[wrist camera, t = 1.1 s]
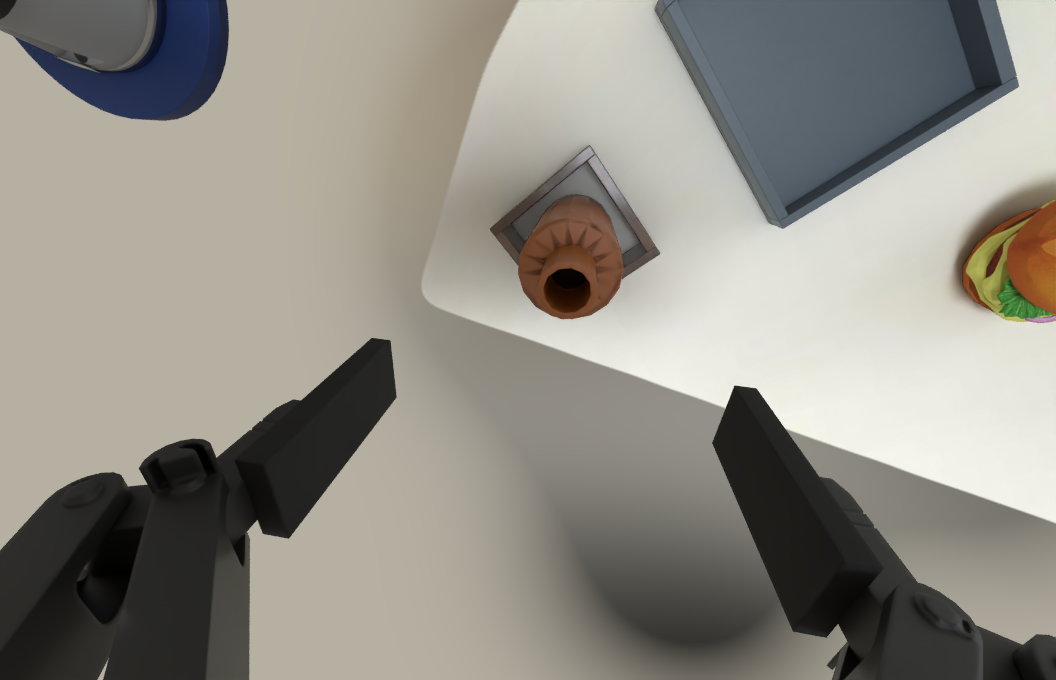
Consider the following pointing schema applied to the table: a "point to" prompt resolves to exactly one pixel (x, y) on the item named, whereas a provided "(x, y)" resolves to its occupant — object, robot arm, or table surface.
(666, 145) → the table surface
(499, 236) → the tray
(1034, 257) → the cheeseburger
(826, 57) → the tray
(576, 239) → the bottle
